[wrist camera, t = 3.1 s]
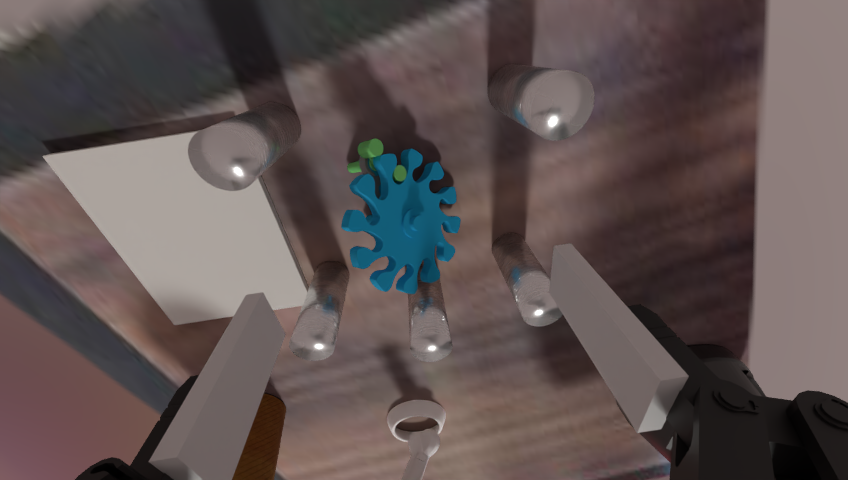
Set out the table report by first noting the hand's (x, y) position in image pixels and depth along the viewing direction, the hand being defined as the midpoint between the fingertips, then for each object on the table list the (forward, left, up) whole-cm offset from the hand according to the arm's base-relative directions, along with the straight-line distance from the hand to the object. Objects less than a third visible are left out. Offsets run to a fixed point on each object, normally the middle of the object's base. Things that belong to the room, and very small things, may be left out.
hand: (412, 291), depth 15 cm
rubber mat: (+17, +1, -12) cm, 21 cm away
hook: (+4, +31, -12) cm, 34 cm away
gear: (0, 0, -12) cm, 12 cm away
